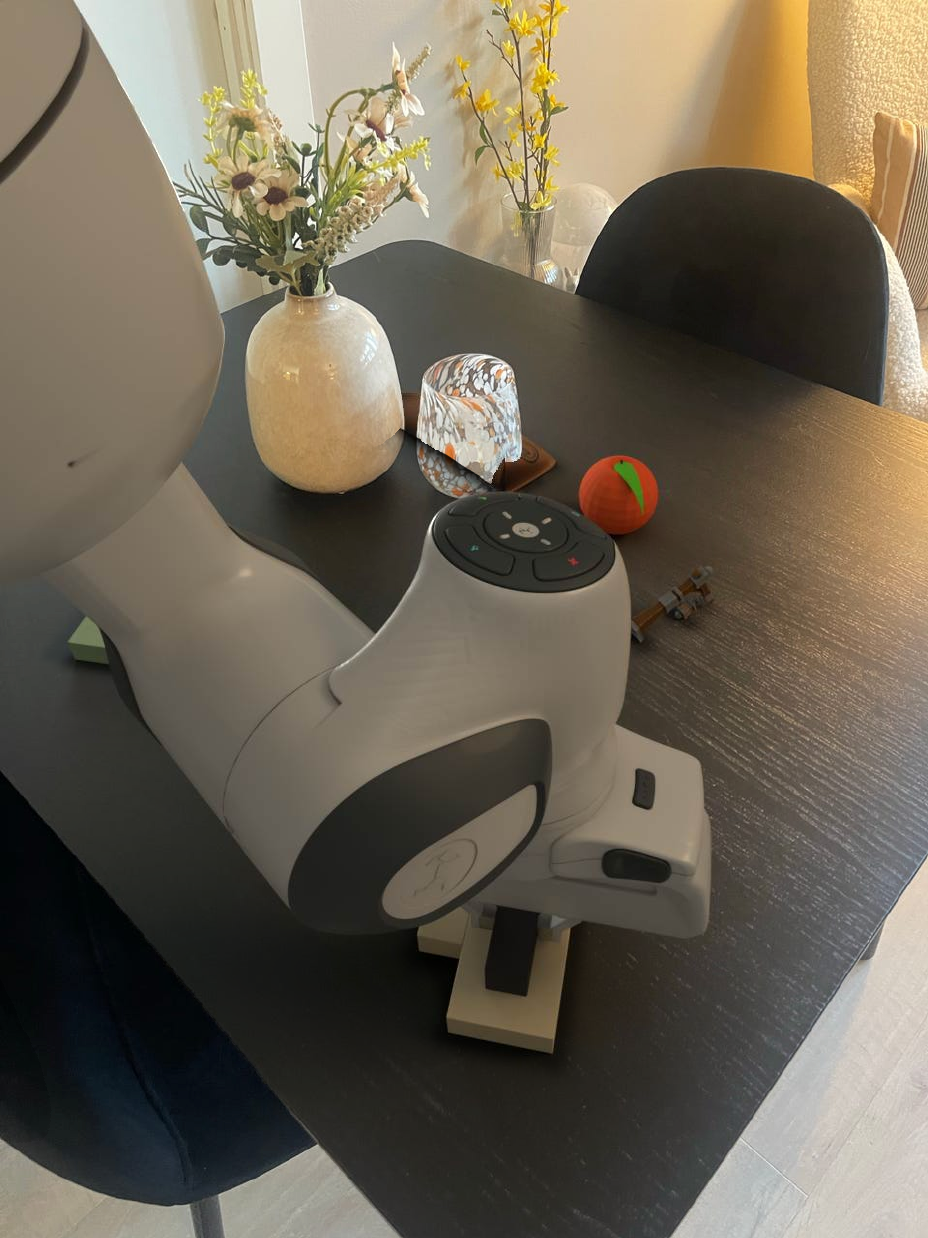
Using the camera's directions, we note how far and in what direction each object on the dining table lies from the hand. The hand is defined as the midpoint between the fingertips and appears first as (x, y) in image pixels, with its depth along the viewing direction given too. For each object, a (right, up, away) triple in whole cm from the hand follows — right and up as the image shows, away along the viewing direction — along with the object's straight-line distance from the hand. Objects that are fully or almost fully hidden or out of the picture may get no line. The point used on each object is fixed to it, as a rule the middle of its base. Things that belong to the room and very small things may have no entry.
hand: (518, 924), depth 56 cm
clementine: (+11, +26, +30) cm, 41 cm away
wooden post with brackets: (+13, +18, +22) cm, 31 cm away
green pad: (-27, +18, +24) cm, 40 cm away
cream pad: (-1, -2, +2) cm, 3 cm away
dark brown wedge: (-3, +35, +41) cm, 54 cm away
